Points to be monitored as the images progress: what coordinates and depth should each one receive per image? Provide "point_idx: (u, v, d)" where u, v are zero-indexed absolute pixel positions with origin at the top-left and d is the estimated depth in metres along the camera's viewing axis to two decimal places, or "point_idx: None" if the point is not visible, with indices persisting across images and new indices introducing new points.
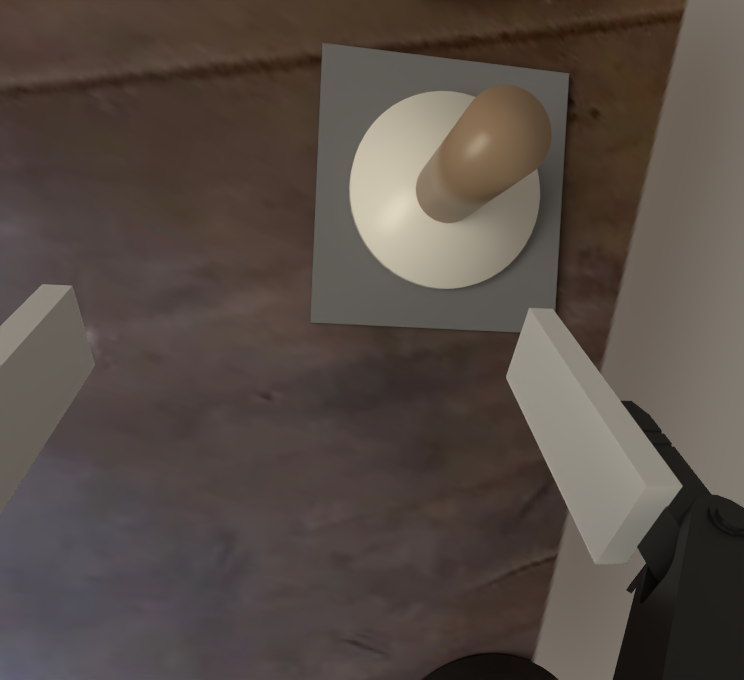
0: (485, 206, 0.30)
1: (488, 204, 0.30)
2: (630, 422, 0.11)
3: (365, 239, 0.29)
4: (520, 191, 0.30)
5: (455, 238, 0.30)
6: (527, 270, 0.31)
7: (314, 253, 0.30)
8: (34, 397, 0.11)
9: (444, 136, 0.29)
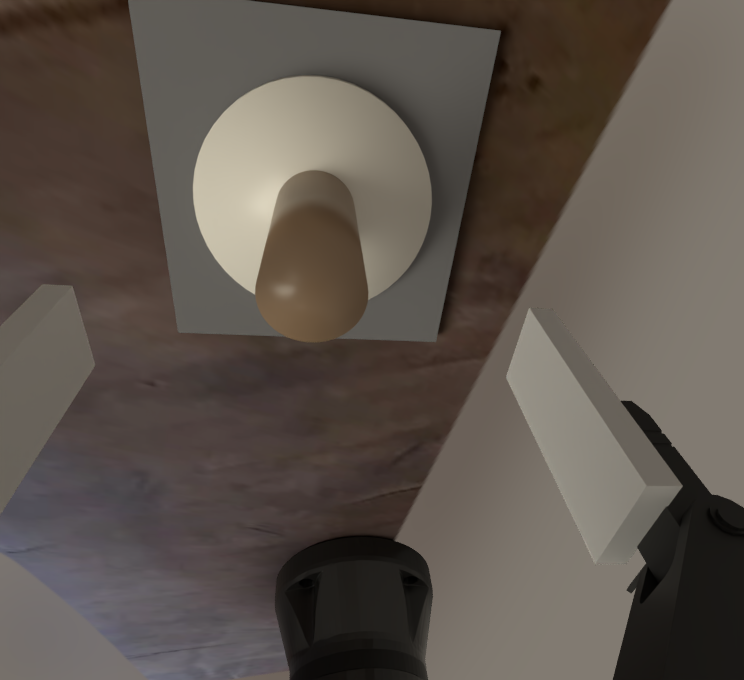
0: (362, 228, 0.25)
1: (365, 226, 0.25)
2: (630, 422, 0.11)
3: (221, 265, 0.26)
4: (406, 210, 0.25)
5: None
6: (413, 284, 0.29)
7: (169, 268, 0.27)
8: (34, 397, 0.11)
9: (309, 143, 0.23)
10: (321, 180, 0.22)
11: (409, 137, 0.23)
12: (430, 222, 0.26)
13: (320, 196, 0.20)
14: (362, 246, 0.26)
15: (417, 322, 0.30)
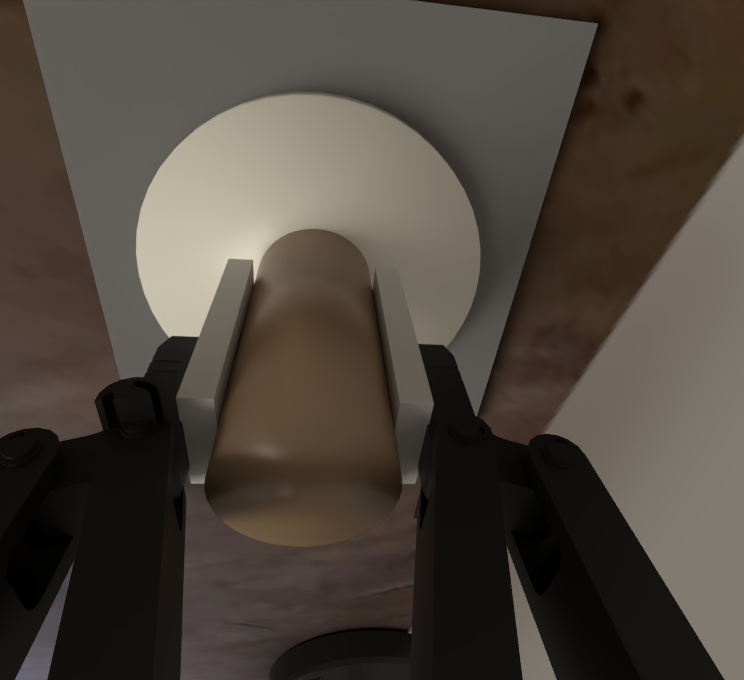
0: None
1: None
2: (415, 356, 0.12)
3: None
4: (443, 280, 0.18)
5: None
6: None
7: (115, 352, 0.19)
8: None
9: (305, 192, 0.15)
10: (322, 249, 0.15)
11: (452, 182, 0.15)
12: None
13: (320, 287, 0.13)
14: None
15: None
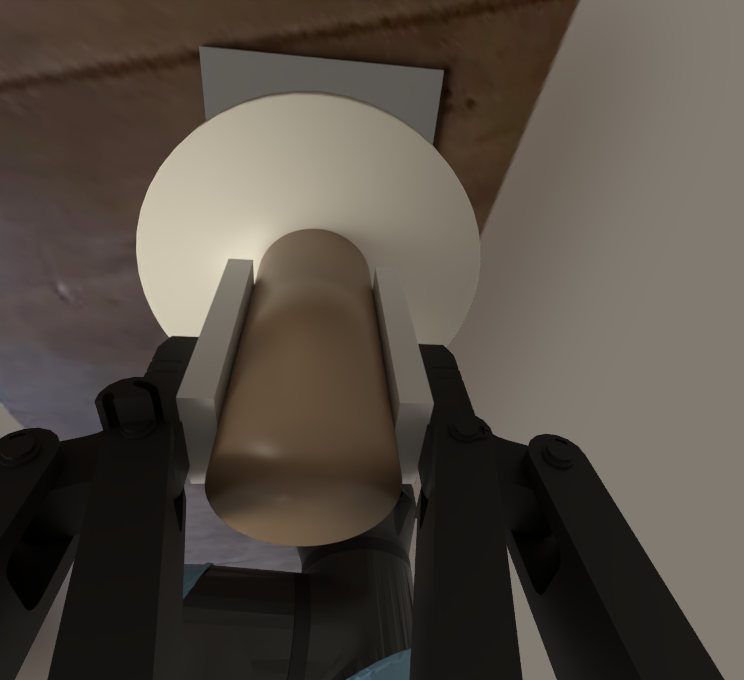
0: None
1: None
2: (415, 356, 0.12)
3: None
4: (443, 280, 0.18)
5: None
6: None
7: None
8: None
9: (305, 191, 0.15)
10: (322, 249, 0.15)
11: (452, 182, 0.15)
12: None
13: (320, 287, 0.13)
14: None
15: None
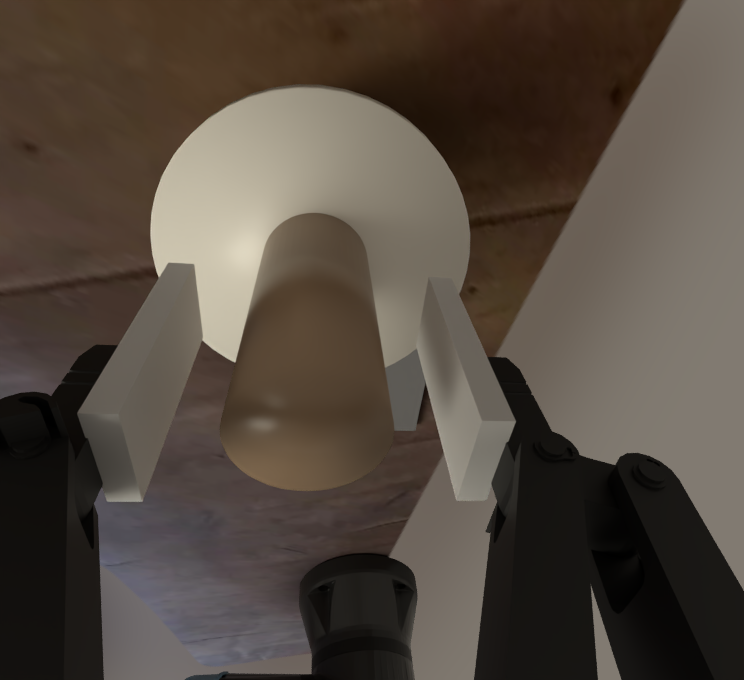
0: (376, 284, 0.19)
1: (381, 282, 0.19)
2: (487, 371, 0.12)
3: None
4: (436, 262, 0.19)
5: None
6: (399, 398, 0.43)
7: None
8: (175, 358, 0.13)
9: (307, 178, 0.17)
10: (323, 231, 0.16)
11: (443, 169, 0.17)
12: (409, 365, 0.41)
13: (321, 262, 0.14)
14: (376, 306, 0.20)
15: (402, 419, 0.45)
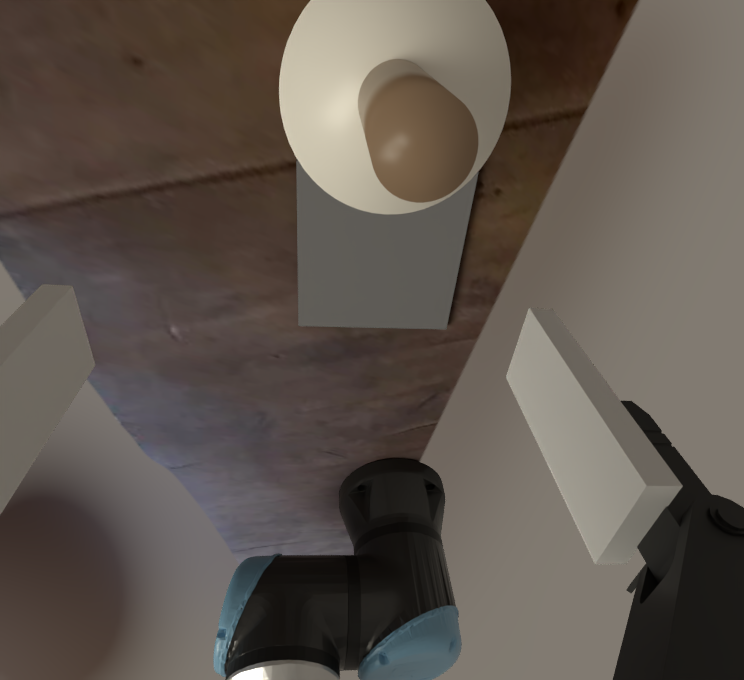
0: None
1: None
2: (630, 422, 0.11)
3: (301, 163, 0.26)
4: (485, 103, 0.25)
5: None
6: (433, 296, 0.50)
7: (298, 291, 0.48)
8: (34, 397, 0.11)
9: (395, 29, 0.23)
10: (409, 63, 0.23)
11: (493, 22, 0.23)
12: (443, 263, 0.48)
13: (416, 70, 0.21)
14: None
15: (435, 318, 0.52)
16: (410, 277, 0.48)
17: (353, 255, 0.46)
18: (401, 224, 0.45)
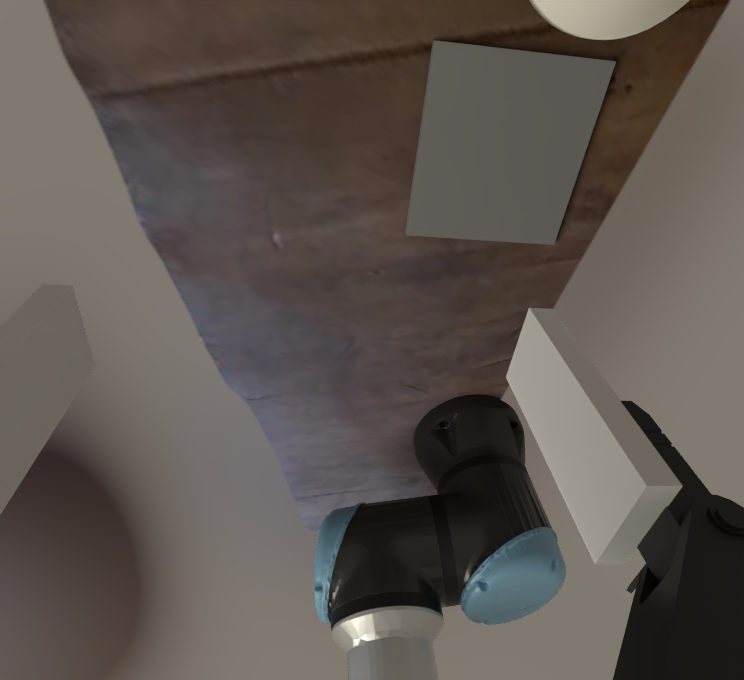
0: None
1: None
2: (630, 422, 0.11)
3: None
4: None
5: None
6: (547, 206, 0.48)
7: (412, 194, 0.47)
8: (34, 397, 0.11)
9: None
10: None
11: None
12: (563, 167, 0.46)
13: None
14: None
15: (545, 231, 0.50)
16: (527, 182, 0.47)
17: (474, 154, 0.45)
18: (528, 120, 0.44)
